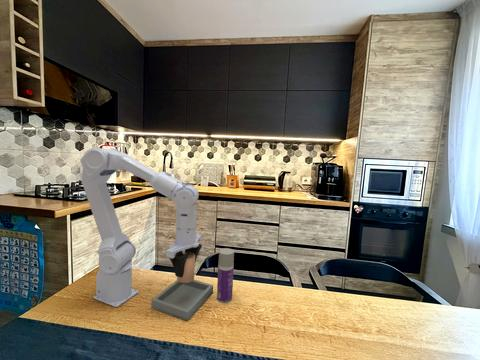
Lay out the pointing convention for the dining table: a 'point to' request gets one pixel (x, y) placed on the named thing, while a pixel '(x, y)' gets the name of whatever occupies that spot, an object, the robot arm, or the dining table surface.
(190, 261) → the cup
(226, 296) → the container
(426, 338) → the dining table surface
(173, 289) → the tray
